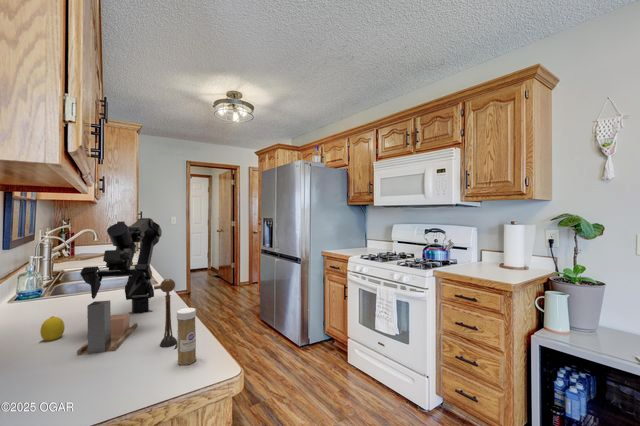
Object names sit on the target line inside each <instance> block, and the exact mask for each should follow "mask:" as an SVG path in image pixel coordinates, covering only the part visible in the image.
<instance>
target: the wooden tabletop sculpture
mask: <svg viewBox="0 0 640 426" xmlns="http://www.w3.org/2000/svg"><path fill="white" fill-rule="evenodd" d="M175 287H176V282H175V281H174V279H172V278H165V279H164V280H162V281H161V283H160V284H159V285H158V284H157V285H153V289H154V291H156V290H161V291H162V292H163V293H165V294H166V295H165V296H164V297H165V322H164V323H165V324H164V325H165V327H164V334H163V338H162V340H161V341H160V344H159V347H160V348H162V349H164V348H166V349H167V348H171V347H174V346H175V347H174V349H173V350H176V349H178V341H177V338H176V337H175V336H173V328H172V319H171V318H172V314H171V311H172V310H171V296H172V295H171V294H170V293H171V292H172V291H174V290H175Z"/></svg>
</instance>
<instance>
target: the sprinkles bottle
mask: <svg viewBox="0 0 640 426" xmlns="http://www.w3.org/2000/svg"><path fill="white" fill-rule="evenodd" d="M196 316H197V309H196V308H194V307H185V308H181V309H178V310H177V311H176V319H177V320H176V321H177V331H176V332H177V333H176V334H177V338H176V340H177V343H178V347H177V364H178V365H181V366H184V365H190V364H193V363H194V362H195V361H197V356H196V354H197V353H196V351H197V350H196V348H197V334H196V318H197V317H196Z"/></svg>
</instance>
